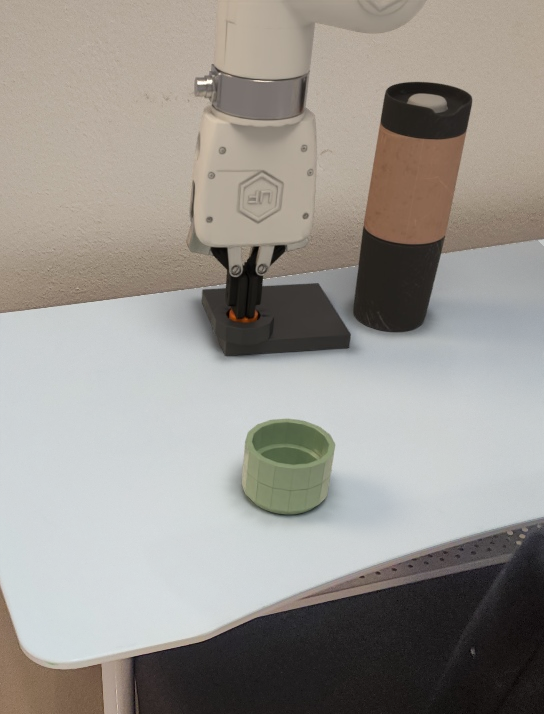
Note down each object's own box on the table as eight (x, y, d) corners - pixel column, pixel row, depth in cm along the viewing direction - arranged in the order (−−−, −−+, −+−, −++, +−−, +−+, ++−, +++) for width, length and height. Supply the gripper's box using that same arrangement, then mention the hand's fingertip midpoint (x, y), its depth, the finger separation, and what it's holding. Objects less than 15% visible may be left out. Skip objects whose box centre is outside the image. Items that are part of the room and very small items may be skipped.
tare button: (252, 320, 94) (254, 305, 93) (259, 333, 92) (260, 318, 91) (225, 322, 93) (226, 306, 92) (231, 335, 92) (232, 319, 90)
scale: (316, 296, 102) (320, 267, 100) (351, 352, 93) (356, 321, 91) (194, 302, 100) (195, 273, 98) (218, 360, 91) (220, 330, 89)
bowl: (313, 464, 80) (320, 415, 77) (337, 514, 75) (346, 464, 72) (233, 471, 79) (237, 422, 76) (252, 521, 74) (257, 471, 71)
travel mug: (368, 291, 103) (404, 75, 89) (438, 310, 100) (486, 91, 86) (337, 319, 98) (369, 96, 84) (410, 340, 95) (456, 114, 81)
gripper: (175, 109, 75) (168, 336, 88) (364, 106, 77) (331, 327, 90) (158, 80, 80) (154, 298, 93) (336, 77, 83) (309, 290, 95)
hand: (241, 311), depth 92 cm, fingers closed
